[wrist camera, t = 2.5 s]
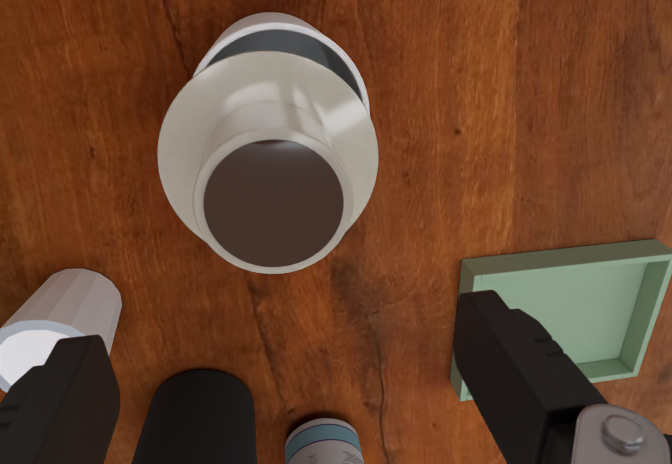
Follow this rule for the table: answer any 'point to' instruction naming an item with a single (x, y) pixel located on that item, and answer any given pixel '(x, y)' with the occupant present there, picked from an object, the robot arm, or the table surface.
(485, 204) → the table surface
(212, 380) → the pen holder
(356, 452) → the beverage can
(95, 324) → the white short cylinder
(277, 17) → the cup
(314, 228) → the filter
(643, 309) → the tray
